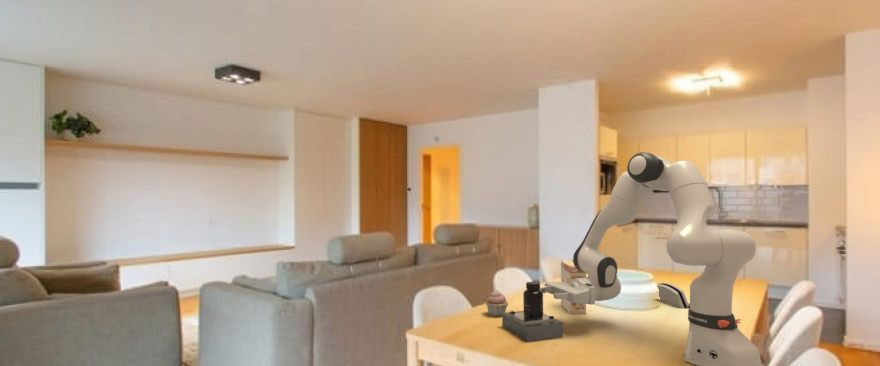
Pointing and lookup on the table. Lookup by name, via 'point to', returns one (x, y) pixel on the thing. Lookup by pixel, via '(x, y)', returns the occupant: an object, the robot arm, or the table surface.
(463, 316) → the table surface
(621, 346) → the table surface
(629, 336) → the table surface
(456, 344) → the table surface
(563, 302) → the coffeecake box
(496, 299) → the cupcake
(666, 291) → the grey curved wedge
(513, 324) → the box
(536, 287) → the supplement bottle
